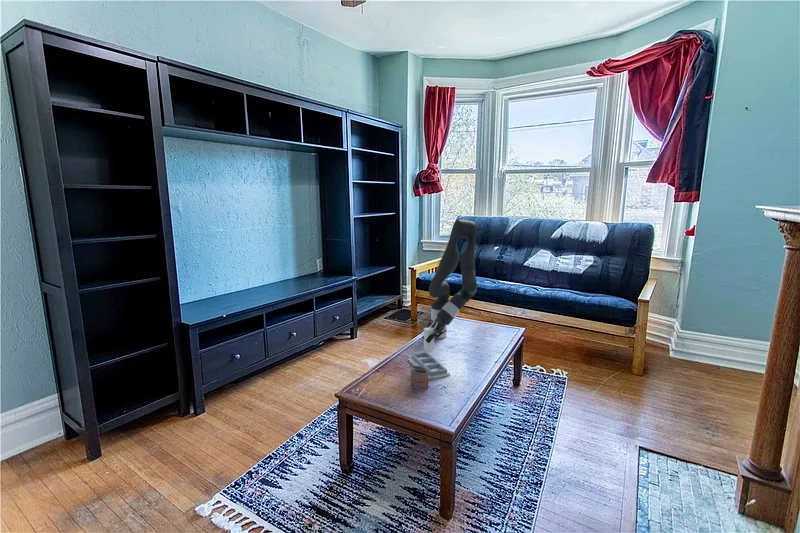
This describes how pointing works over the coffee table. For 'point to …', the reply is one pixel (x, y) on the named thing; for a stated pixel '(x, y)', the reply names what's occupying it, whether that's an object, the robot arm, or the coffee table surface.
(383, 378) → the coffee table surface
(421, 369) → the lighter
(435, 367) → the rack
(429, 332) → the clay bar
